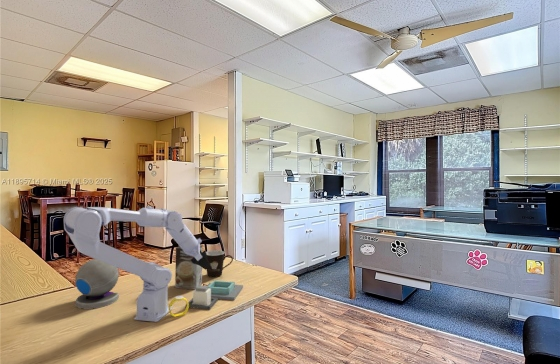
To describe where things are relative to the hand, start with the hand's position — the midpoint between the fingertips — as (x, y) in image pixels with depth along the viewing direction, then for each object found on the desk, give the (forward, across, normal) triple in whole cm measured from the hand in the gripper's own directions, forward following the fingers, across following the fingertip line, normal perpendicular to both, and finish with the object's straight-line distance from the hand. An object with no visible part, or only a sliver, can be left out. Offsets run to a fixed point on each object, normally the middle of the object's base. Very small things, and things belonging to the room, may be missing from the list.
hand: (204, 262), depth 110 cm
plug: (+6, -10, +9) cm, 14 cm away
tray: (+6, -10, +9) cm, 14 cm away
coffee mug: (+21, +15, 0) cm, 25 cm away
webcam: (-8, +11, +36) cm, 39 cm away
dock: (+13, -4, +2) cm, 14 cm away
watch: (0, -14, +15) cm, 21 cm away
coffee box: (+11, +9, +11) cm, 18 cm away
